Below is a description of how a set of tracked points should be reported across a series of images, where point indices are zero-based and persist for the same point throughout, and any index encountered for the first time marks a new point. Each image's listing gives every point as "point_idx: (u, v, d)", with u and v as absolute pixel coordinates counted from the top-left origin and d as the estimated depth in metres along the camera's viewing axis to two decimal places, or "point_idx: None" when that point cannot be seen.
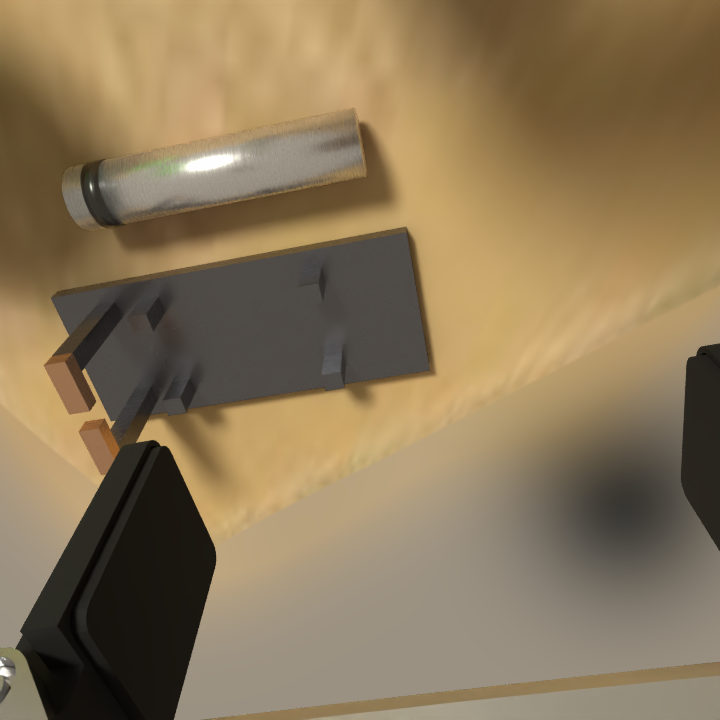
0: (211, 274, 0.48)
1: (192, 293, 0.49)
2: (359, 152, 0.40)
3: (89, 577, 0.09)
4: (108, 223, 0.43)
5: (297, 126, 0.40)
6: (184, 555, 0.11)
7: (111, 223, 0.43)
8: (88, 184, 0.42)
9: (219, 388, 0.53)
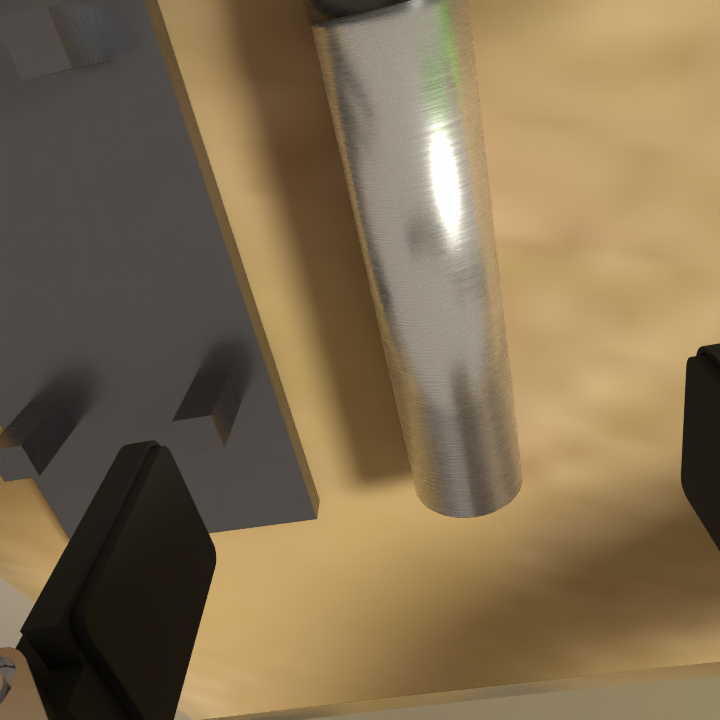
0: (196, 199, 0.22)
1: (141, 150, 0.21)
2: (470, 515, 0.24)
3: (89, 577, 0.09)
4: None
5: (510, 411, 0.23)
6: (184, 555, 0.11)
7: (321, 4, 0.16)
8: None
9: None
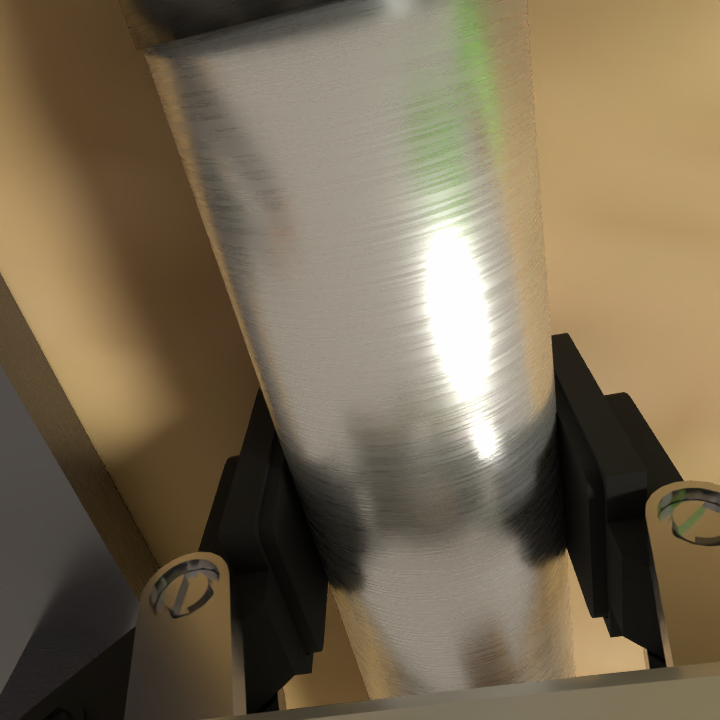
0: None
1: None
2: None
3: (265, 493, 0.09)
4: None
5: None
6: None
7: (139, 0, 0.06)
8: None
9: None
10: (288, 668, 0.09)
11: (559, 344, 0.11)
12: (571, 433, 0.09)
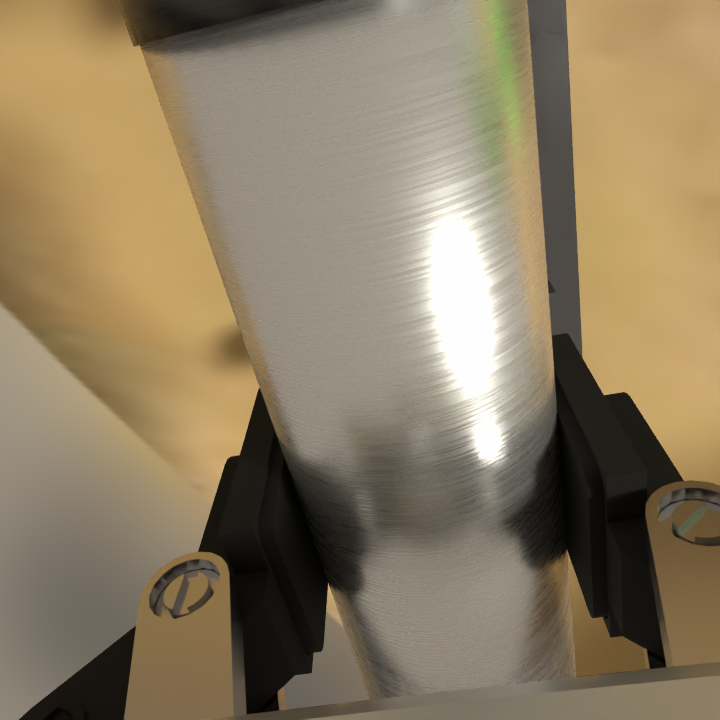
0: (552, 54, 0.20)
1: None
2: None
3: (265, 493, 0.09)
4: None
5: None
6: None
7: None
8: None
9: None
10: (288, 668, 0.09)
11: (559, 344, 0.11)
12: (571, 433, 0.09)
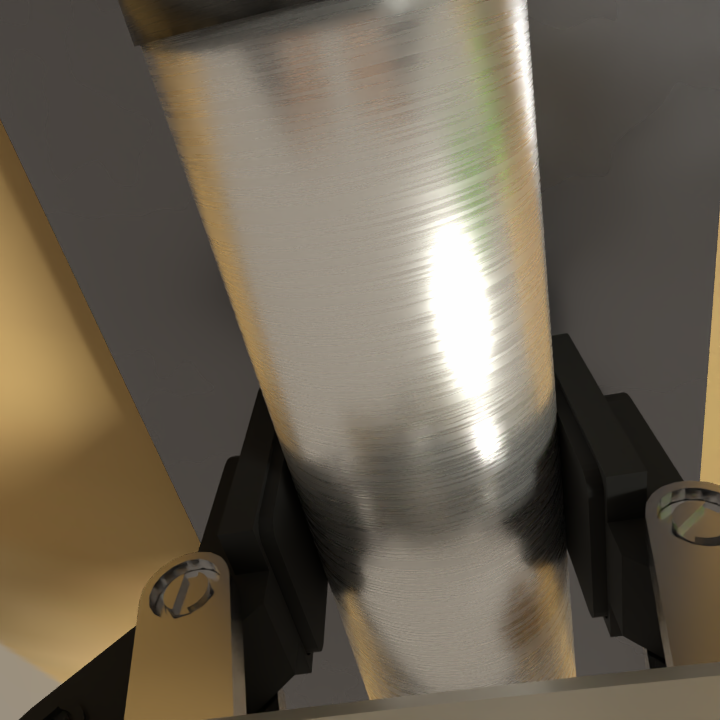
0: (696, 125, 0.11)
1: (620, 14, 0.10)
2: None
3: (265, 493, 0.09)
4: None
5: None
6: None
7: None
8: None
9: (81, 97, 0.11)
10: (288, 668, 0.09)
11: (559, 344, 0.11)
12: (571, 433, 0.09)
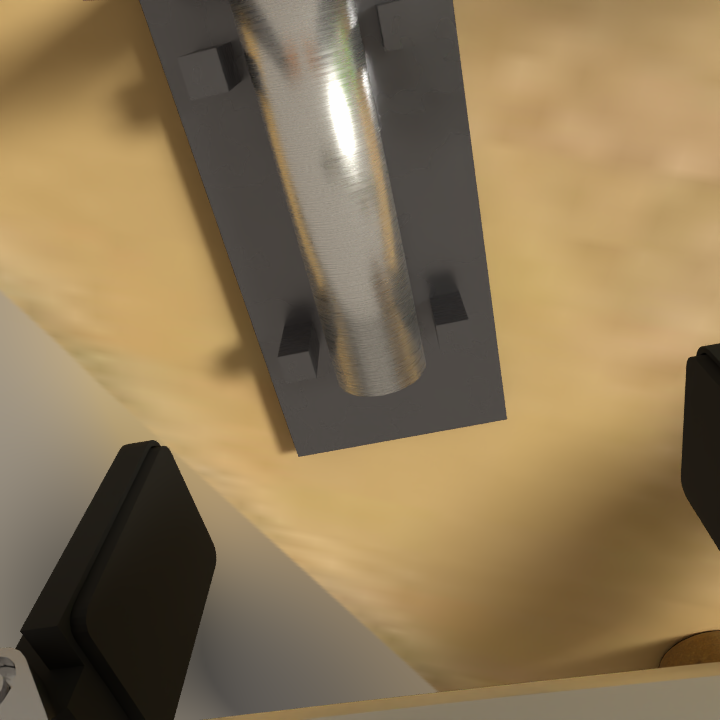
0: (460, 148, 0.28)
1: (425, 108, 0.27)
2: (378, 394, 0.29)
3: (89, 577, 0.09)
4: None
5: (407, 304, 0.28)
6: (184, 555, 0.11)
7: None
8: None
9: (224, 141, 0.27)
10: None
11: None
12: None
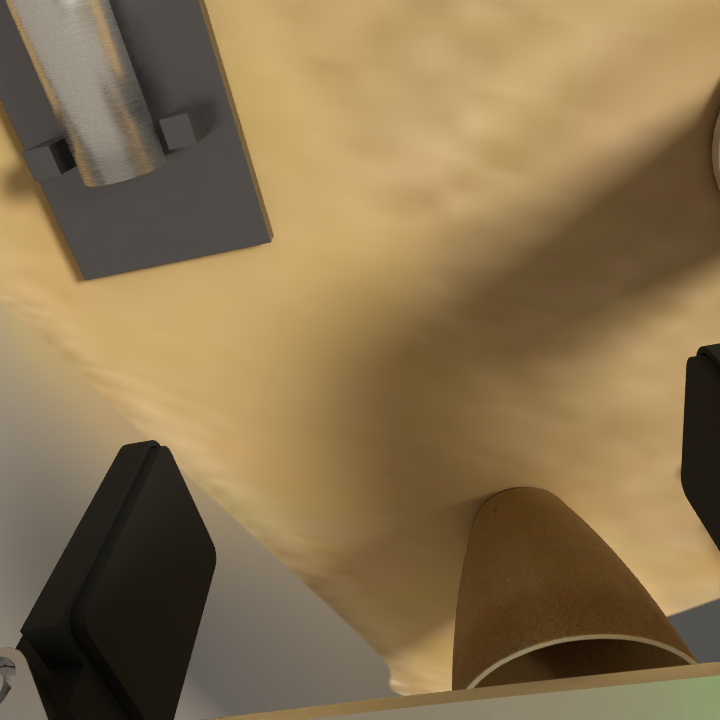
0: None
1: None
2: (108, 182, 0.32)
3: (89, 577, 0.09)
4: None
5: (126, 93, 0.31)
6: (184, 555, 0.11)
7: None
8: None
9: None
10: None
11: None
12: None
